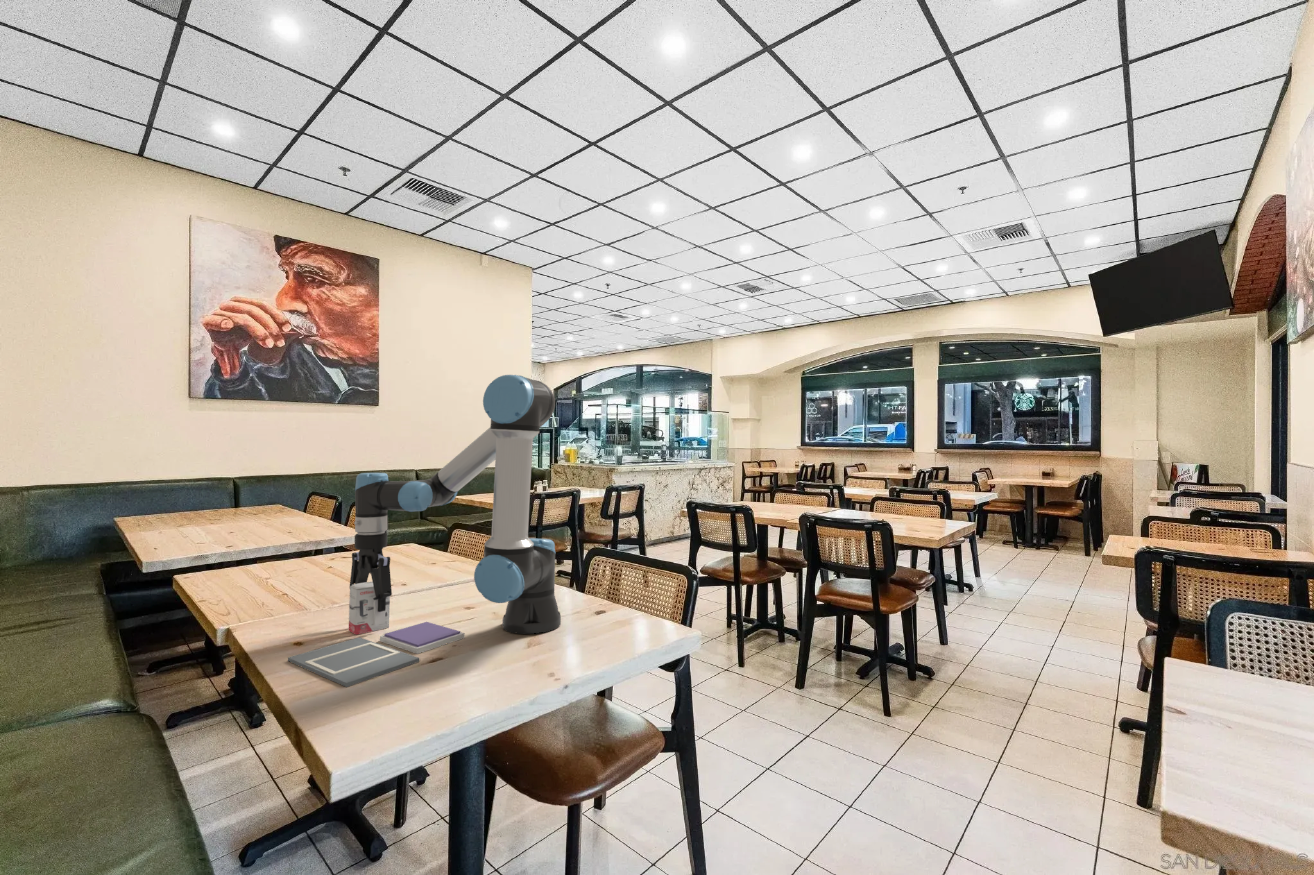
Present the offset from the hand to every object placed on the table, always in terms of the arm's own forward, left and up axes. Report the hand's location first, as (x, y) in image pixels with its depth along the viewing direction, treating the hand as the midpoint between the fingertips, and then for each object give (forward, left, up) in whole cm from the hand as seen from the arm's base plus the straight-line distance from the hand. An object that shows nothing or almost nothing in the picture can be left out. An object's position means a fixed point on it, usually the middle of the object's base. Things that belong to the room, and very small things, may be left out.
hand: (369, 620), depth 146 cm
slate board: (-18, +14, -2) cm, 23 cm away
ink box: (0, 0, -3) cm, 3 cm away
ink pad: (-18, -3, -2) cm, 18 cm away
